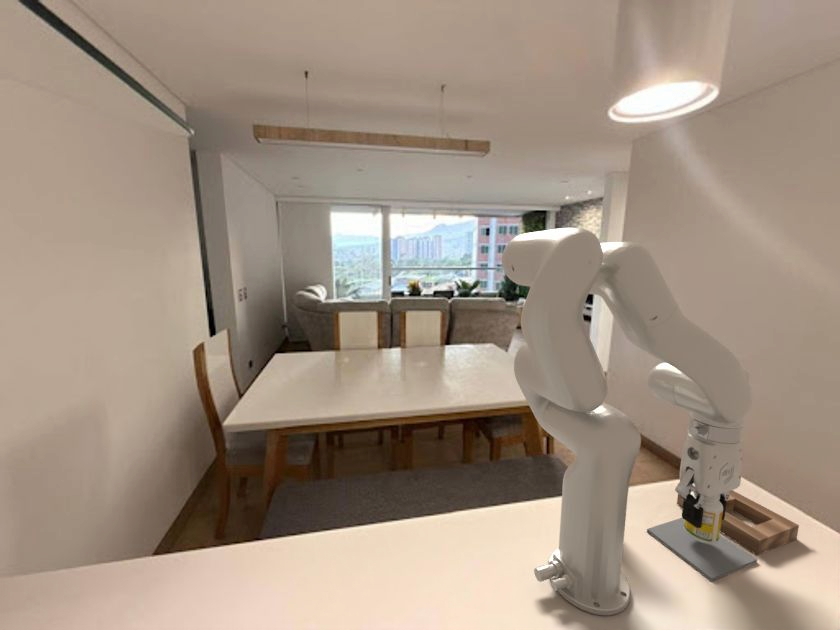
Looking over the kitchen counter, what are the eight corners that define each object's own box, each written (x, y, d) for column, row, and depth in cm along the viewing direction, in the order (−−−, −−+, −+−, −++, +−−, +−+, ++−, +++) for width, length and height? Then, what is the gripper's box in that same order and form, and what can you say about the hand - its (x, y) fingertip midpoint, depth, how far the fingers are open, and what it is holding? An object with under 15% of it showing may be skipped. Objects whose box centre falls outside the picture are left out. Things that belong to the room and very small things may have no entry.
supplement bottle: (700, 546, 65) (705, 498, 64) (676, 525, 71) (681, 480, 69) (726, 544, 66) (733, 496, 64) (701, 523, 71) (706, 478, 70)
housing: (757, 555, 66) (759, 540, 66) (676, 503, 80) (678, 491, 80) (796, 538, 70) (798, 525, 70) (713, 492, 84) (714, 480, 84)
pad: (711, 581, 61) (711, 578, 61) (646, 531, 72) (647, 528, 72) (756, 562, 65) (757, 559, 65) (688, 517, 76) (689, 515, 76)
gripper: (703, 447, 59) (691, 545, 61) (769, 430, 64) (755, 521, 67) (659, 427, 66) (650, 516, 68) (722, 413, 71) (712, 496, 74)
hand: (702, 517), depth 68 cm, fingers closed on supplement bottle, 5 cm apart
